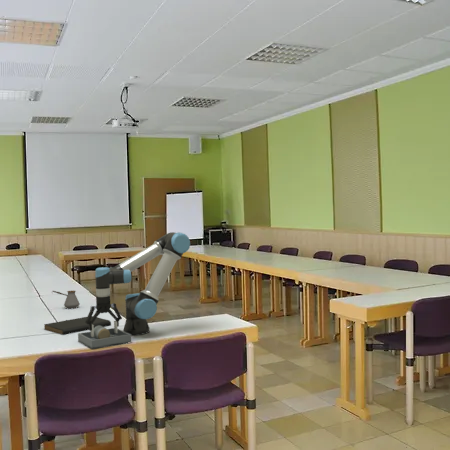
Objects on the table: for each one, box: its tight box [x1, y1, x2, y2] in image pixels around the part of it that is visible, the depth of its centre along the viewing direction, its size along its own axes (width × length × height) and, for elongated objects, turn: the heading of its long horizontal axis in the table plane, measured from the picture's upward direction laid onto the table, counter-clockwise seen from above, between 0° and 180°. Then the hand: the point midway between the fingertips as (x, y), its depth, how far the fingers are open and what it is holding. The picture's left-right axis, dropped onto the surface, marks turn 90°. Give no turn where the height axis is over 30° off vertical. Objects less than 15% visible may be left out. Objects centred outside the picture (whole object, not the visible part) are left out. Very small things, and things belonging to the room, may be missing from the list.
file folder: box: [43, 315, 112, 336], centre depth 326 cm, size 33×4×24 cm
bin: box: [77, 327, 132, 350], centre depth 285 cm, size 22×22×4 cm
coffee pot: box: [51, 290, 80, 310], centre depth 395 cm, size 21×12×15 cm, turn 132°
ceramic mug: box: [94, 325, 114, 339], centre depth 285 cm, size 11×8×8 cm
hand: (104, 334), depth 285 cm, fingers open, 13 cm apart
